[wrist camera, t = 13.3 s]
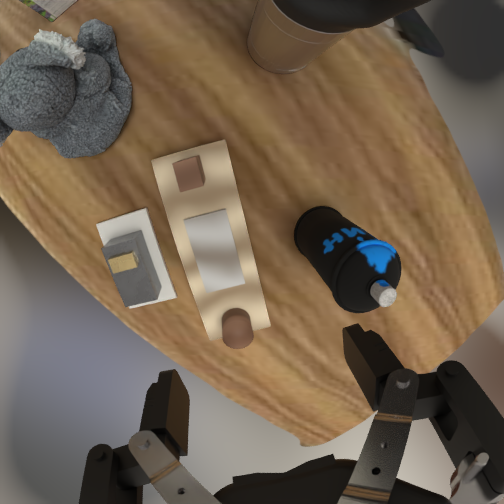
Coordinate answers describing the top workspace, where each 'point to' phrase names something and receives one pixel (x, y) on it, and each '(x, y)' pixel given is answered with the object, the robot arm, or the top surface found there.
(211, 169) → the hand plane
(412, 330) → the top surface
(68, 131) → the koala plush
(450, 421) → the robot arm
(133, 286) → the lever cap
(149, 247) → the rubber mat
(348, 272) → the aerosol can
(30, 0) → the syrup box
